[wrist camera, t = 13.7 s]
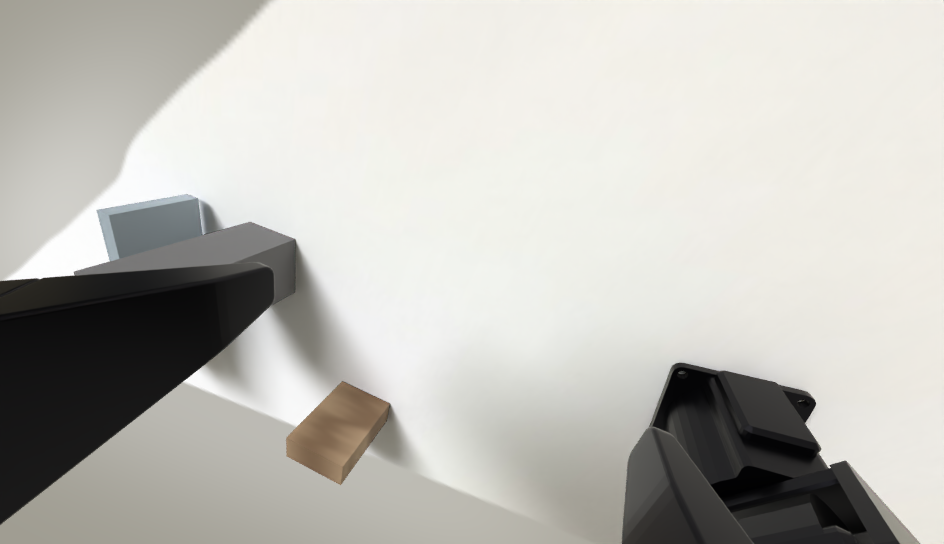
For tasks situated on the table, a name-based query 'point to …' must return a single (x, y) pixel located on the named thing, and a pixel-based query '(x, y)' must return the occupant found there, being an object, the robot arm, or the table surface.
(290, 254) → the tall gray pillar
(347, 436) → the wooden blocks
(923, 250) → the table surface
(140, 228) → the door
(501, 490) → the table surface
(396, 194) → the table surface
